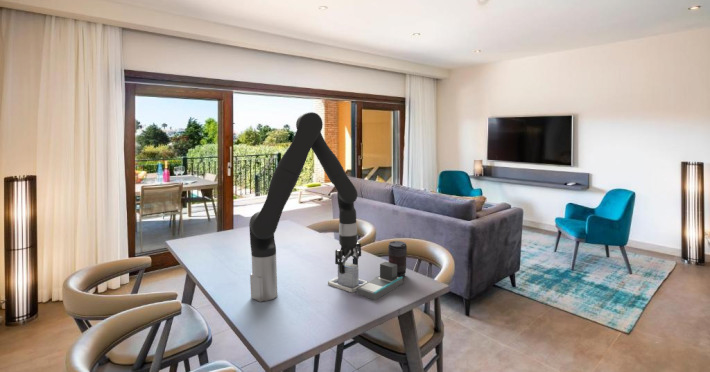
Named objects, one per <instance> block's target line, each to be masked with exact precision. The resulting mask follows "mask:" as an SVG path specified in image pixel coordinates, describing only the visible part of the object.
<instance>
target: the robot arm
mask: <svg viewBox="0 0 710 372" xmlns="http://www.w3.org/2000/svg"><path fill="white" fill-rule="evenodd" d="M323 124H324V123H323V119H322V118H321V116H320V115H319V114H318V113H317V112H313V111H309V112H306V113H305V112H304V113H303V114H300V116H298V118H297V119H296V123H295V128H296V132H295V134H294V137H293V138H292V139H293V140H292V141H291V143H290V145H289V146H288V148H287V149H286V151H285V152H284V154H283V155H282V157H281V159H280V160H278V161H279V162H278V163H277V165H276V167H275V170H274V172H273V173H272V176H271V180H270V182H269V186H268V190H267V191H268V192H267V195H266V198H265V202H264V203H263V205H262V208H261V210H260V211H257V212H255V213H254V214H253V215H252V216H251V217H250V220H249V239H250V241H249V242H250V243H249V244H250V250H251V251H250V252H251V253H250V255H251V273H250V274H249V282H250V298H251V299H253V300H255V301H258V302H259V303H262V302H267V301H272V300H274V299H276V298H277V297H278V274H277V273H278V268H277V267H278V265H277V246H276V239H275V232H276V231H277V228H278V225H279V223H280V219H281V216H282V213H283V210H284V208H285V206H286V204H287V202H288V201H289V198H290V196H291V195H292V193H293V190H295V189H294V188H295V187H296V184H297V182H298V181H299V177H300V175H301V173H302V171H303V168H304V167H305V163H306V162H307V158H308V155H309V153H310V151H311V150H312V152H313V153H314V156H316V158H317V160H318V161H319V163H320V165H321V167H322V169H323V171H324V173H325V174H326V176H327V178H328V180H329V182H331V183H332V185H333V186H334V188H335V189H336V191H337V192H336V193H337V204H338V211H339V213H338V216H339V217H338V218H339V221H338V222H339V223H338V224H339V225H338V237H339V238H338V240H339V241H338V243H339V245H340V249H335V252H334V253H335V254H334V257H335V258H334V260H335V261H334V264H335V265H337V266H338V265H339V272H340V273H341V274H344V273H345V265H344V264H345V262H346V261H348V259H349V258H350V257H352V264H355V265H358V266H359V259H360V257H361V256H362V244H361V242H358V223H357V210H356V209H355V202H356V200H357V198H358V191H357V188H356V187H355V185H354V184H353V182H352V180H351V179H350V178H349V177H348V175H347V173H346V170H345V169H344V167H343V166H342V163H341V161H339V158H338V157H337V156H336V154H335V153H334V152H333V151H332V149H331V148H330V147H329V145H328V143H327V142H326V141H325V139H324V136H323V135H322V129H323V126H324V125H323ZM346 263H347V262H346Z"/></svg>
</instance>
